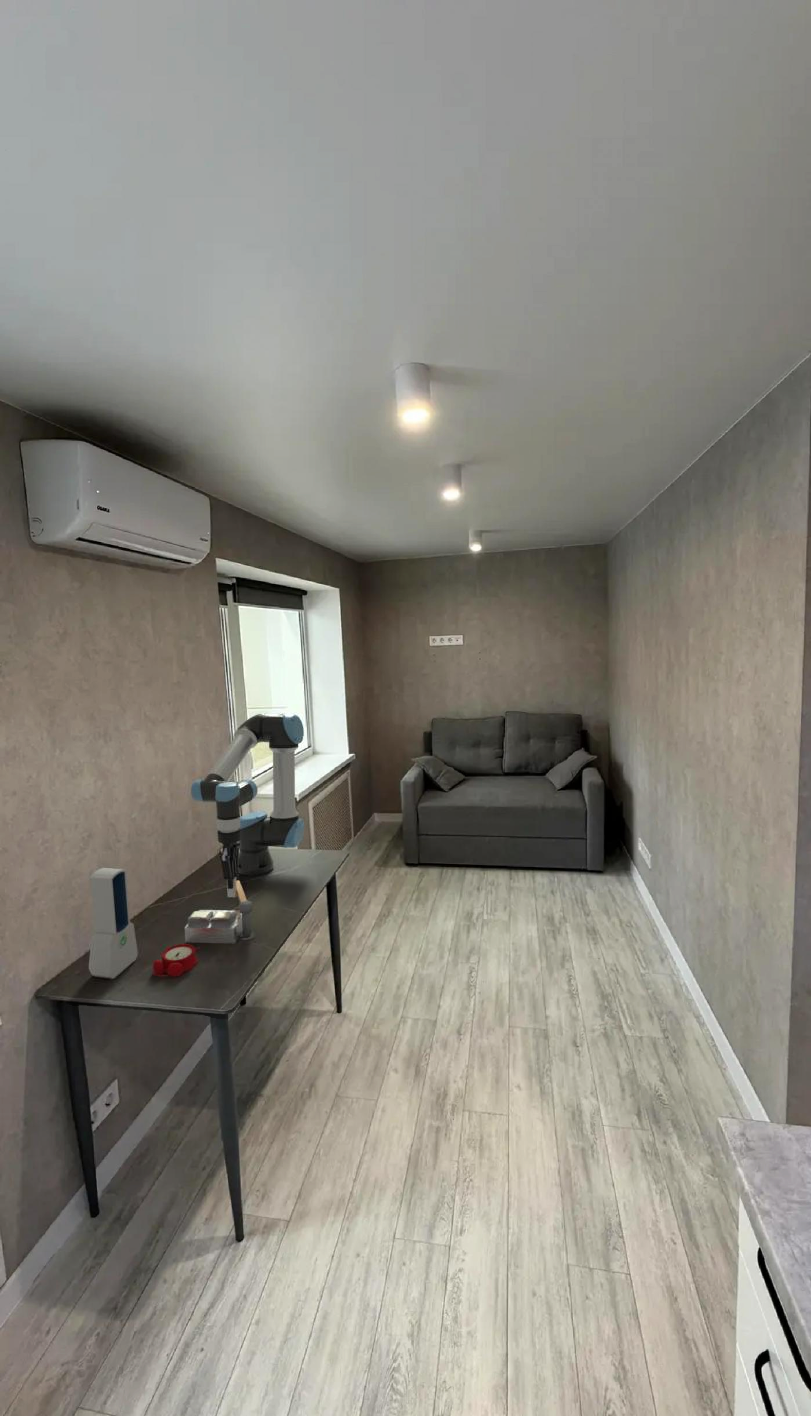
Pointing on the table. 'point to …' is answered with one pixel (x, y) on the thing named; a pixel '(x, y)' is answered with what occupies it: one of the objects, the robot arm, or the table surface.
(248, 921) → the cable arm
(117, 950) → the electronic device
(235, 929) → the grey boxy piece
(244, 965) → the table surface
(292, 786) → the robot arm
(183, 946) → the alarm clock
